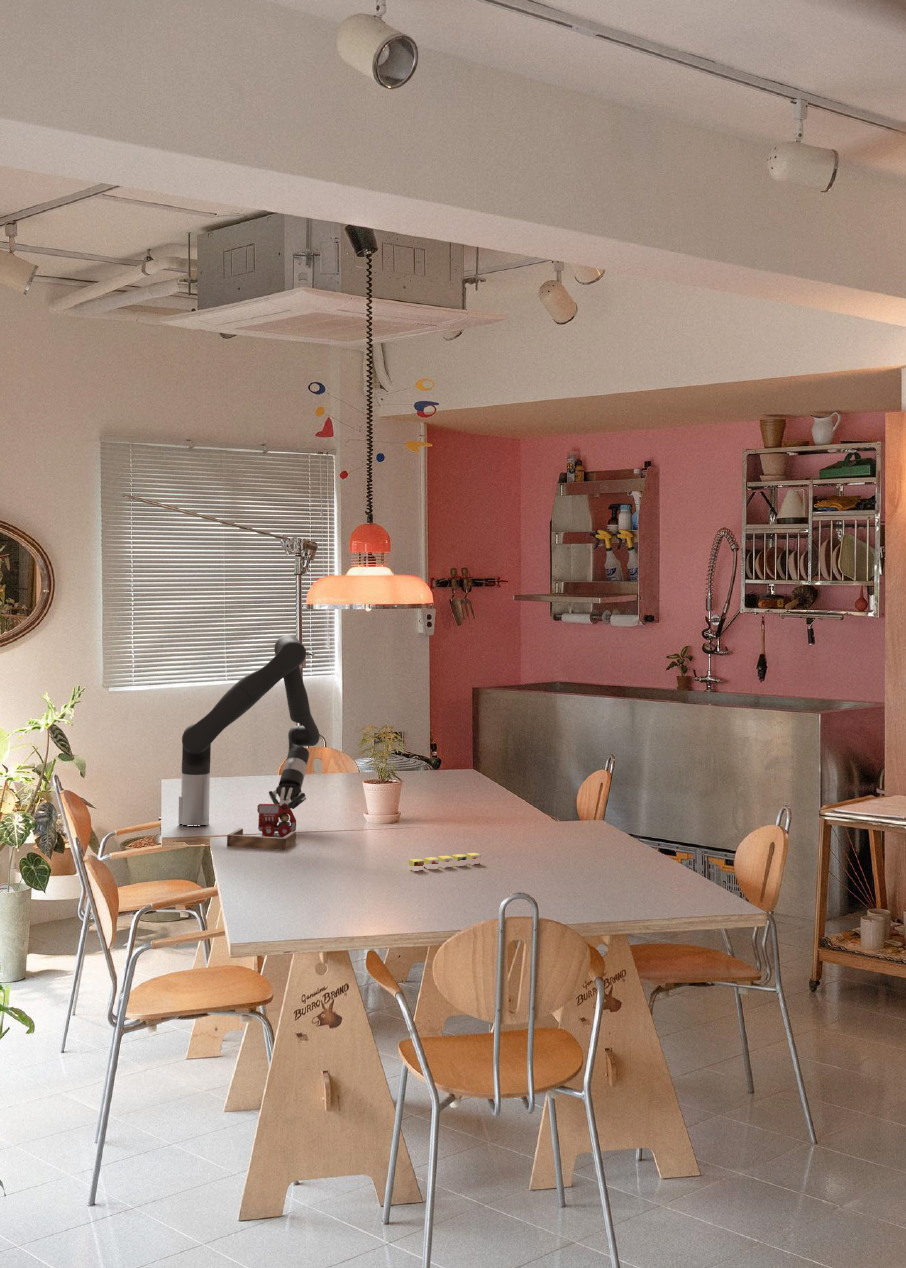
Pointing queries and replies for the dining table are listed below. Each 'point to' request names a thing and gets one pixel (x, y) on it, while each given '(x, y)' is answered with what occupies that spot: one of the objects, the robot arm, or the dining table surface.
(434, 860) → the yellow cube chain
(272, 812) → the toy fire truck
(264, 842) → the walnut cradle
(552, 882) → the dining table surface
